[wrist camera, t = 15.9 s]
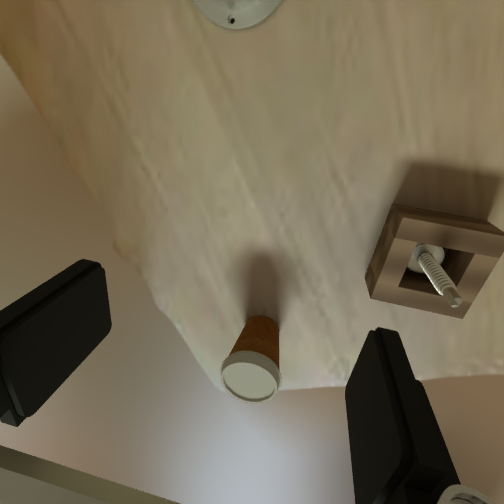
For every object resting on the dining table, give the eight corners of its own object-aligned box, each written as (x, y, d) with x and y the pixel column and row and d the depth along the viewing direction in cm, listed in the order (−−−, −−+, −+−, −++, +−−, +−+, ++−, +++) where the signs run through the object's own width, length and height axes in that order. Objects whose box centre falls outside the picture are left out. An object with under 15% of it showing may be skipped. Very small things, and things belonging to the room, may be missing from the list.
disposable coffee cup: (298, 326, 51) (293, 382, 41) (270, 356, 56) (259, 414, 45) (252, 299, 51) (235, 349, 40) (228, 332, 55) (207, 384, 45)
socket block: (392, 203, 39) (402, 217, 34) (487, 221, 38) (512, 237, 33) (364, 277, 45) (370, 298, 40) (446, 295, 43) (462, 318, 38)
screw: (429, 228, 40) (444, 255, 41) (394, 246, 42) (410, 271, 43) (474, 277, 28) (494, 312, 29) (423, 298, 30) (444, 330, 31)
